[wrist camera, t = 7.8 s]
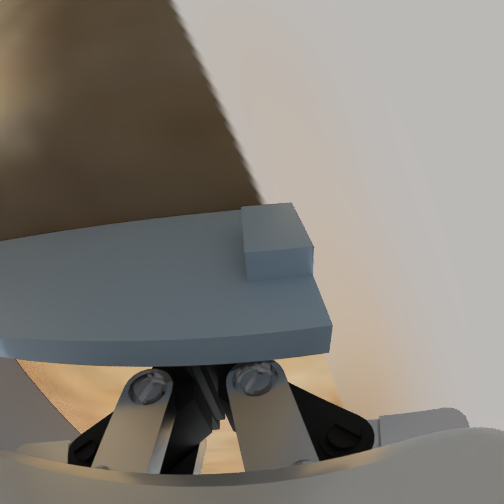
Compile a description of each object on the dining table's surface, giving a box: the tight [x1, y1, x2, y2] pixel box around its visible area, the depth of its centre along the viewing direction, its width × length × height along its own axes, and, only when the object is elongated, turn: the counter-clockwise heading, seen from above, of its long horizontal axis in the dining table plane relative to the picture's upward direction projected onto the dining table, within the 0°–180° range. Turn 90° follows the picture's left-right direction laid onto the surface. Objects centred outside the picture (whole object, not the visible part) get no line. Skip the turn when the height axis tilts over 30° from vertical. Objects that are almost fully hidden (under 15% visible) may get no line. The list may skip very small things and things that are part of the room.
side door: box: [0, 203, 332, 367], centre depth 9 cm, size 2×19×7 cm, turn 94°
